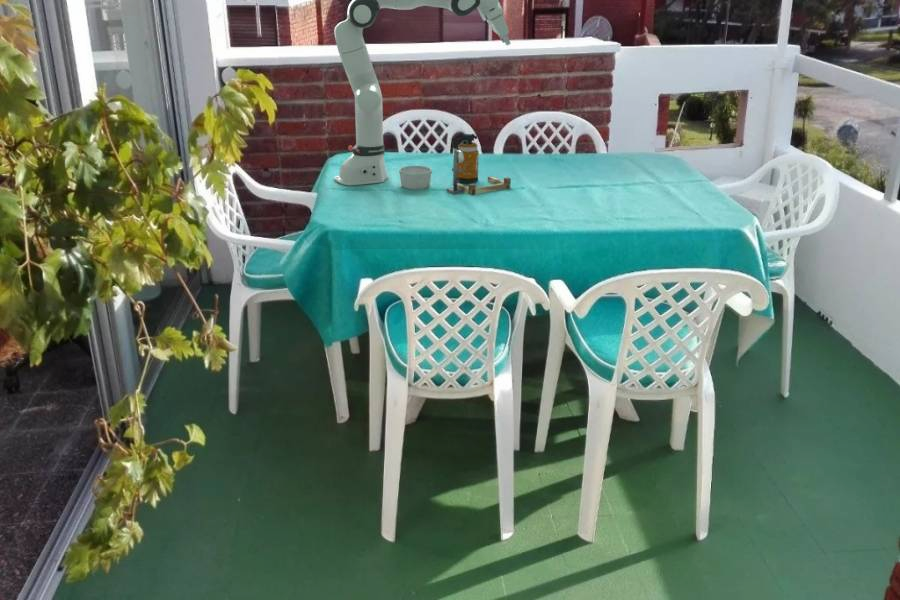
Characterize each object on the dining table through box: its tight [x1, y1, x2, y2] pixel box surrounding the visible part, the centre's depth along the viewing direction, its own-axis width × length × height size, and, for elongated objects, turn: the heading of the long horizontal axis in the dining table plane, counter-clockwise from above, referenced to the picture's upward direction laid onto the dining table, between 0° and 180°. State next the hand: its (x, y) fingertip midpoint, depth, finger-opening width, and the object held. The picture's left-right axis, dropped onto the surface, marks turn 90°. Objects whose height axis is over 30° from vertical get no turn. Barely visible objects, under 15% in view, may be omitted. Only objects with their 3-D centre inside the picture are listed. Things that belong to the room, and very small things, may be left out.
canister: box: [451, 132, 480, 184], centre depth 345 cm, size 9×11×20 cm
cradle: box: [457, 175, 512, 196], centre depth 339 cm, size 13×20×4 cm, turn 125°
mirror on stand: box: [445, 148, 465, 195], centre depth 331 cm, size 6×5×17 cm
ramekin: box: [398, 165, 433, 191], centre depth 341 cm, size 13×13×7 cm
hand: (506, 43), depth 337 cm, fingers open, 8 cm apart
